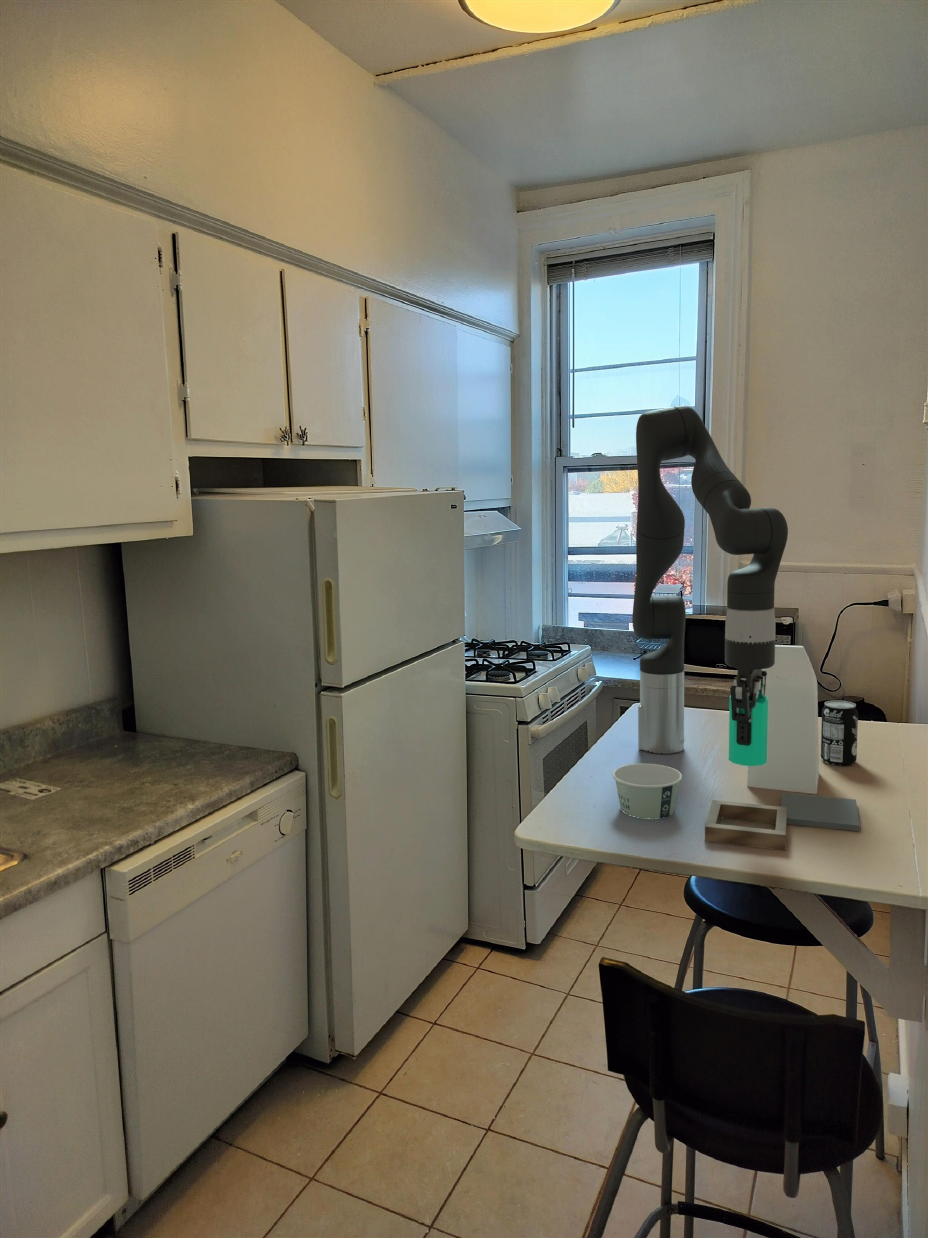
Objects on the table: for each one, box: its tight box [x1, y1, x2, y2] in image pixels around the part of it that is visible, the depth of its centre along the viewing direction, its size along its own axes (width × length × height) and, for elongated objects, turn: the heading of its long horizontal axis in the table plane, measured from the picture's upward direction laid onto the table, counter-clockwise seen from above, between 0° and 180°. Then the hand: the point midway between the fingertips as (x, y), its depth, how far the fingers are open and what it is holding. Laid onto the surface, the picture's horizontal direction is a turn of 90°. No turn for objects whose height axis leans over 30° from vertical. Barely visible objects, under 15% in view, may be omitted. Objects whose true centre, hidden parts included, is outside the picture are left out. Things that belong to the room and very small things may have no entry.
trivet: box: [780, 792, 861, 832], centre depth 144 cm, size 12×12×1 cm
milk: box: [746, 644, 820, 795], centre depth 159 cm, size 12×12×26 cm
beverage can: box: [820, 699, 859, 767], centre depth 169 cm, size 7×7×12 cm
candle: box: [728, 694, 768, 767], centre depth 135 cm, size 6×6×12 cm
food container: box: [611, 763, 683, 820], centre depth 148 cm, size 12×12×6 cm
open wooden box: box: [704, 799, 788, 852], centre depth 138 cm, size 12×12×2 cm
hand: (748, 739), depth 136 cm, fingers closed on candle, 5 cm apart
